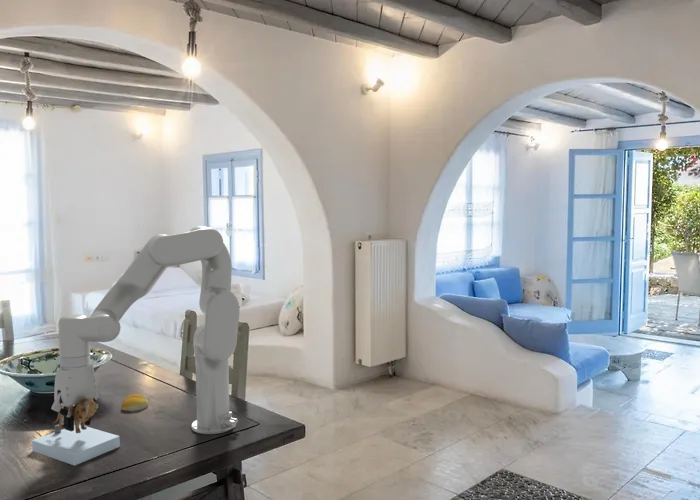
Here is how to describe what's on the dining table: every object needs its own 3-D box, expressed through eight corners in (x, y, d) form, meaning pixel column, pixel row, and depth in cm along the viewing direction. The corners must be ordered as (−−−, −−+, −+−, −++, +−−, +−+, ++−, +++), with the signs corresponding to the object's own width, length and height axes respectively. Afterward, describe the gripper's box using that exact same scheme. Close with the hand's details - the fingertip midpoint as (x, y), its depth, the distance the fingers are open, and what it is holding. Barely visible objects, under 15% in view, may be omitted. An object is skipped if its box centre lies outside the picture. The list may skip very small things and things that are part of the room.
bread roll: (120, 413, 197) (120, 401, 197) (123, 404, 206) (122, 392, 205) (147, 411, 199) (147, 398, 199) (149, 402, 208) (148, 390, 207)
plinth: (119, 446, 170) (119, 429, 170) (74, 465, 158) (73, 446, 158) (78, 434, 179) (77, 417, 179) (32, 451, 167) (31, 433, 167)
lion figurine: (102, 428, 168) (101, 396, 168) (88, 435, 163) (87, 402, 163) (58, 422, 173) (57, 391, 172) (43, 429, 168) (42, 396, 167)
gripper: (93, 352, 175) (95, 415, 177) (37, 366, 161) (40, 434, 162) (110, 356, 171) (112, 420, 173) (55, 370, 157) (57, 440, 158)
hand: (77, 426), depth 168 cm, fingers closed on lion figurine, 4 cm apart
